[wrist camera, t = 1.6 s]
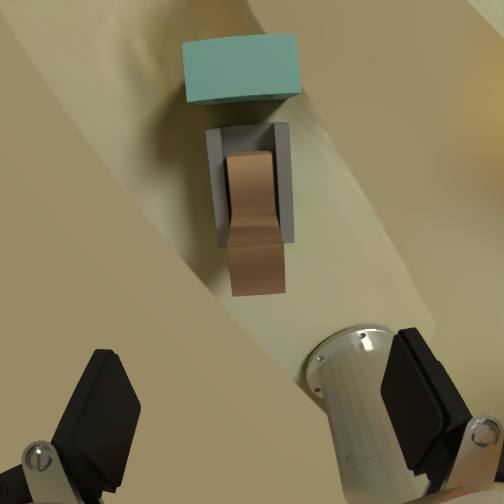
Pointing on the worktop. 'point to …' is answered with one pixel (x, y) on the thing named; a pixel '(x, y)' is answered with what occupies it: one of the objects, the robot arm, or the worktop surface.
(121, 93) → the worktop surface
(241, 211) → the rod
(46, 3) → the worktop surface
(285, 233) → the guide channel
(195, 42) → the teal rectangular block
